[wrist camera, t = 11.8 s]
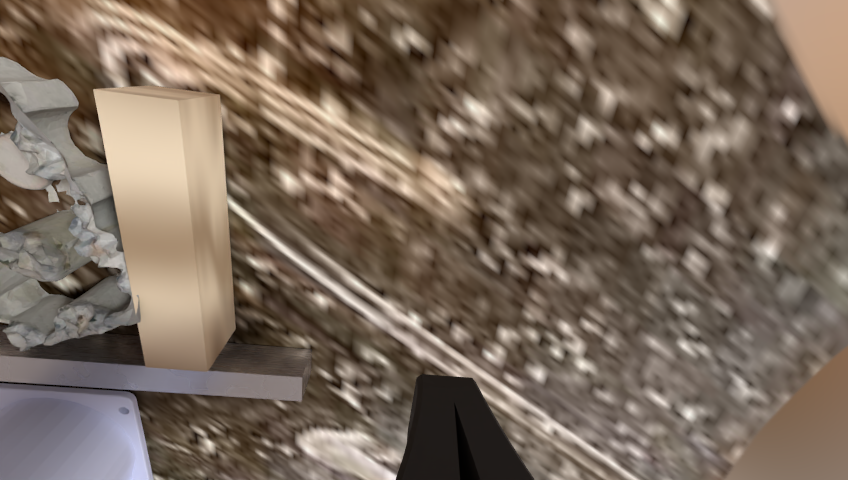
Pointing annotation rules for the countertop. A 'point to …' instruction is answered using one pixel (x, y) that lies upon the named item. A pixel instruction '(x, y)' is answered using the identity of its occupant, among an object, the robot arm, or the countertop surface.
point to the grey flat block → (125, 368)
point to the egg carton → (57, 222)
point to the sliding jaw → (172, 219)
